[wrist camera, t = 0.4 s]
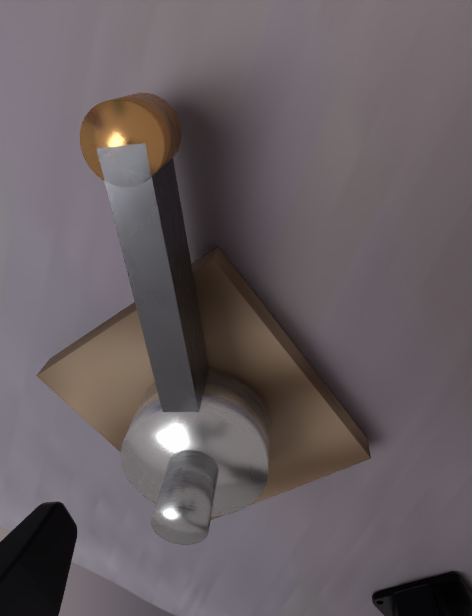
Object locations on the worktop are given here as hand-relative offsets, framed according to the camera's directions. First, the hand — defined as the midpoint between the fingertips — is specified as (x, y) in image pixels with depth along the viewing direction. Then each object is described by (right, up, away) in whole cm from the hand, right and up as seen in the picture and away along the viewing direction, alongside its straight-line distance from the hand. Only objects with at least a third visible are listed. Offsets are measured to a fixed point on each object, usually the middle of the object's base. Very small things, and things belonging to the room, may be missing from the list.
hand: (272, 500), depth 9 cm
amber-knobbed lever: (-3, +3, +12) cm, 13 cm away
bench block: (-2, -1, +16) cm, 17 cm away
